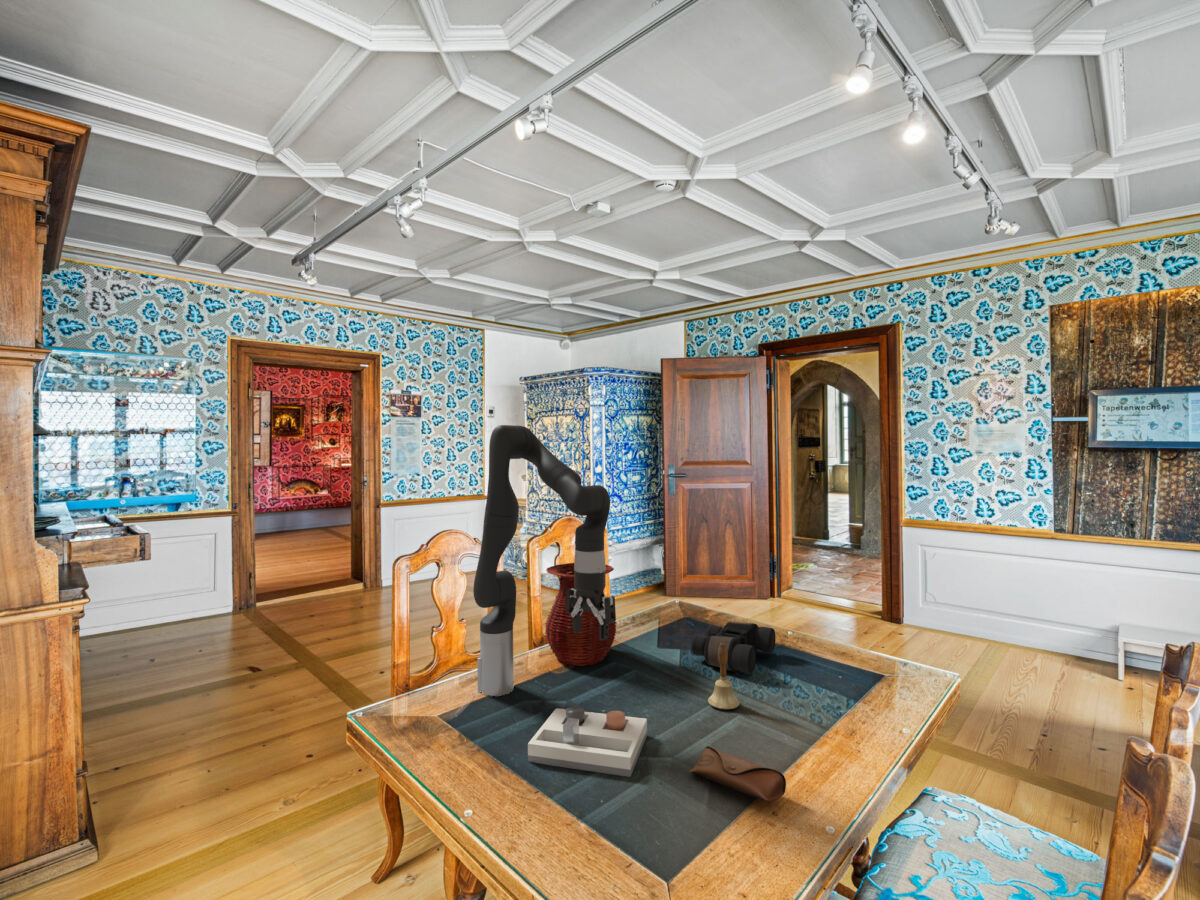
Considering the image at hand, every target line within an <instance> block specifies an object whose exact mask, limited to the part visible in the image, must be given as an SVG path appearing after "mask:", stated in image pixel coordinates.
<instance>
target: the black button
mask: <svg viewBox="0 0 1200 900" xmlns="http://www.w3.org/2000/svg"><path fill="white" fill-rule="evenodd" d="M565 709H566V721H567V719H568V718H575V719H579V725H580V724H583V723H584V721H585V720H584V712H585V708H584V707H583V706H580V705H573V706H571V705H570V706H568V707H567V708H565Z"/></svg>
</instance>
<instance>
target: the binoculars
mask: <svg viewBox="0 0 1200 900" xmlns="http://www.w3.org/2000/svg"><path fill="white" fill-rule="evenodd" d="M775 631H776V630H775V629H774V628H773V627H769V626H768V627H767V626H758V624H756V623H753V622H737V621H729V622H727V623H725V625H724V626H723V627H722V626H720V625H716V624H710V625H708V627H707V630H706V634H705V635H701V634H699V633H698V634H694V636H692V640H691V653H692V654H693V655H695V656H701V657H702V656H703V657H704V660H705V661H704V662H706V664H707V665H709V666H713V667H716V668H720V664H719V660H718V650H719V647H720V643H725V646H726V649H727V653H728V660H727V664H726V671H729V672H733V673H734V672H736V671H739V672H741V673H746V674H752V673H754V671H755V668H756V663H757V651H759V652H760V651H761V652H763V653H769V654H772V653H773V652H774V650H775V647H776V632H775Z"/></svg>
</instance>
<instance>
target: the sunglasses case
mask: <svg viewBox="0 0 1200 900" xmlns="http://www.w3.org/2000/svg"><path fill="white" fill-rule="evenodd" d="M688 772H689V773H692V774H694V775H698V776H701V777H703V778H706V779H708V780H710V781H713V782H714V783H717V784H720V785H723V786H725V787H728V788H730V789H733V790H734V791H736V792H739V793H742V794H745V795H747V796H750V797H751V798H755V799H758V800H759V799H760V800H763V801H766V802H771V803H772V802H773V801H776V800H779V798H781V797H783V796H784V795H785V793H786V788H787V781H786V777H785V775H784V774H783V773H782V772H780V771H779V770H777V769H774V768H770V767H765V766H761V765H759V764H756V763H754V762H752V761H750V760H749V761H748V760H746V759H743V758H740V757H737V756H734V755H732V754H729V753H725V752H723V751H720V750H717V748H716V749H715V748H714V747H712V746H706V747H705V750H704V751H703V753H702V754H701V755H700V757H699V759H698V760H697V762H696V763H695V764H694V765H693V767H692V769H690V770H688Z"/></svg>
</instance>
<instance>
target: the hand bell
mask: <svg viewBox="0 0 1200 900" xmlns="http://www.w3.org/2000/svg"><path fill="white" fill-rule="evenodd" d="M718 660H719V664H720V669H719V673H720V674H719V676H720V677H719V679H717V680H716V681H715V683H714V688H713V692H712V693H711V695H710V696H709V697H708V699H707V702H708V704H709V705H710V706H712V707H714V708H717V709H720V710H732V709H733V710H734V709H736V708H738V707H739V706H740V701H739V698H737V696H735V693H734V689H733V683H732V681H730V680H728V678H727V670H726V664H727V660H728V653H727V649H726V646H725V643H720V647H719V650H718Z"/></svg>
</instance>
